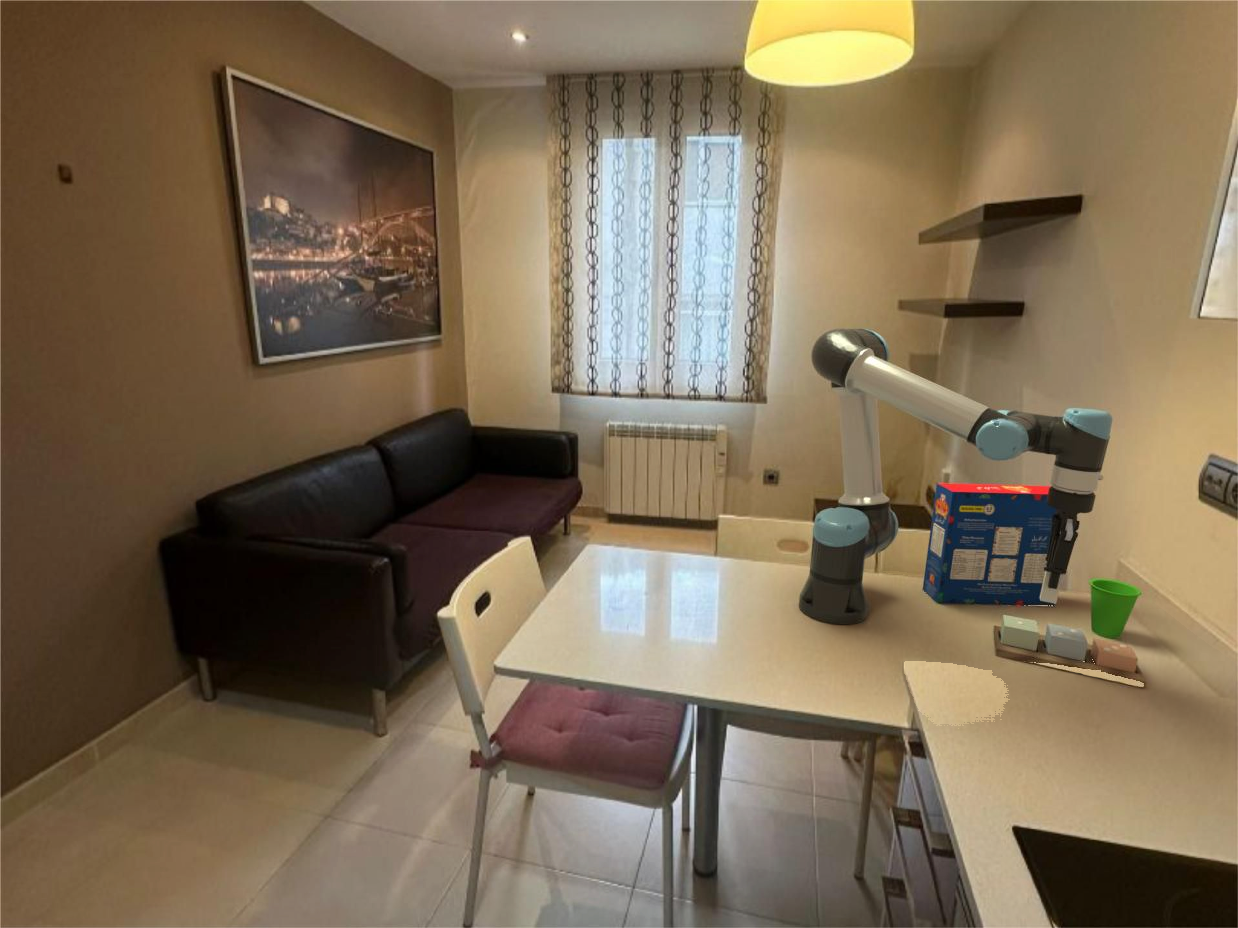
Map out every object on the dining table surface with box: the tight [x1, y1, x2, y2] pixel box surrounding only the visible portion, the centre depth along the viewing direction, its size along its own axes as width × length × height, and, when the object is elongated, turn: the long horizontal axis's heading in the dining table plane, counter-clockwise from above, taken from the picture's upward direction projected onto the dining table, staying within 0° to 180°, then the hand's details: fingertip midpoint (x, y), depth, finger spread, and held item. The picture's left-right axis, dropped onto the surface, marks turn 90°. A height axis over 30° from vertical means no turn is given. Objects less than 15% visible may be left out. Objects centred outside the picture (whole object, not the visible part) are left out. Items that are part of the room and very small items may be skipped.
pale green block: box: [1000, 614, 1040, 652], centre depth 132 cm, size 6×6×4 cm
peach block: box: [1090, 637, 1139, 673], centre depth 126 cm, size 6×6×4 cm
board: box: [993, 624, 1146, 685], centre depth 129 cm, size 24×12×2 cm, turn 62°
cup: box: [1088, 578, 1142, 639], centre depth 140 cm, size 9×9×11 cm
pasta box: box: [922, 482, 1058, 607], centre depth 155 cm, size 28×8×28 cm, turn 89°
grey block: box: [1044, 622, 1089, 662], centre depth 129 cm, size 6×6×4 cm
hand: (1047, 600), depth 129 cm, fingers closed
